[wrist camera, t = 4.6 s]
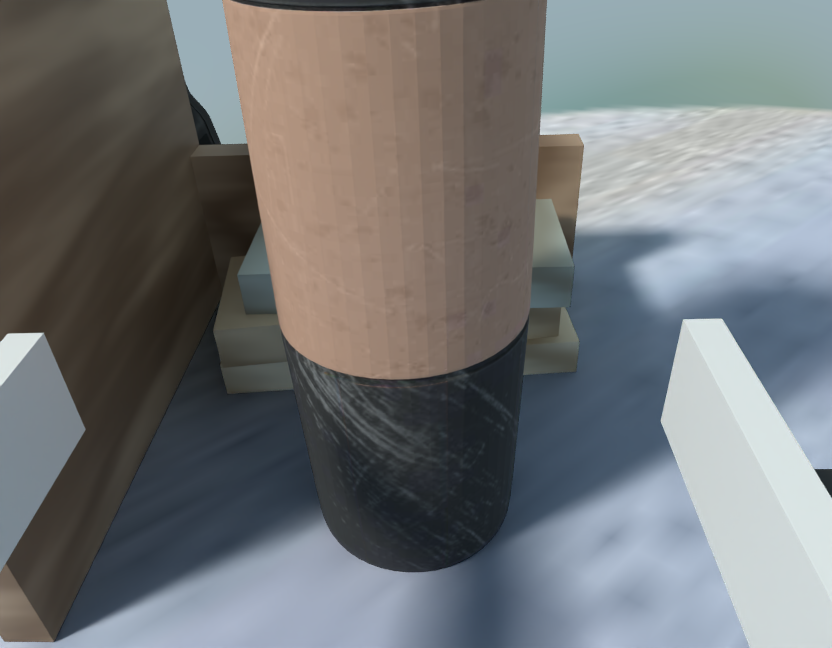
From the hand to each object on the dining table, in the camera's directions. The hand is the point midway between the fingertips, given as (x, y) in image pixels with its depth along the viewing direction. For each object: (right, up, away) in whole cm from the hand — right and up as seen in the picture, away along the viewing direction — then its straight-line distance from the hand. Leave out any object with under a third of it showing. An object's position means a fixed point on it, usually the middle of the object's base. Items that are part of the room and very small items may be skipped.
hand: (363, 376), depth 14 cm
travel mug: (+1, -5, +11) cm, 13 cm away
